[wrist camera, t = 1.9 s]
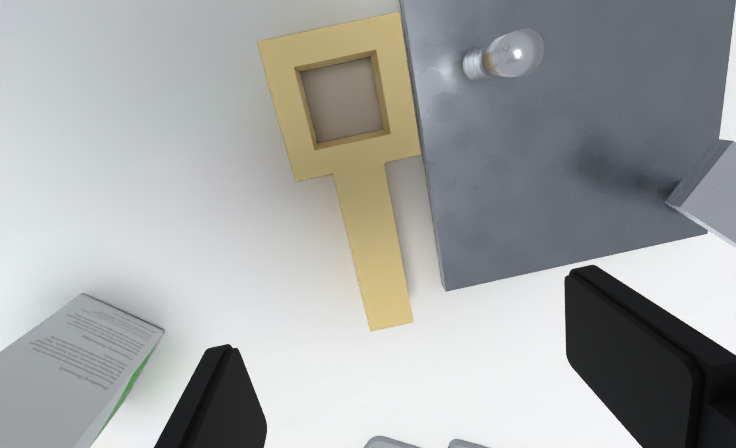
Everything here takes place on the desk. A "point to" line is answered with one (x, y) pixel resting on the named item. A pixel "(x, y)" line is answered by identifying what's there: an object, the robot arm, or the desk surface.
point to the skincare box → (71, 375)
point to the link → (353, 146)
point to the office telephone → (379, 444)
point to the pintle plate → (569, 128)
